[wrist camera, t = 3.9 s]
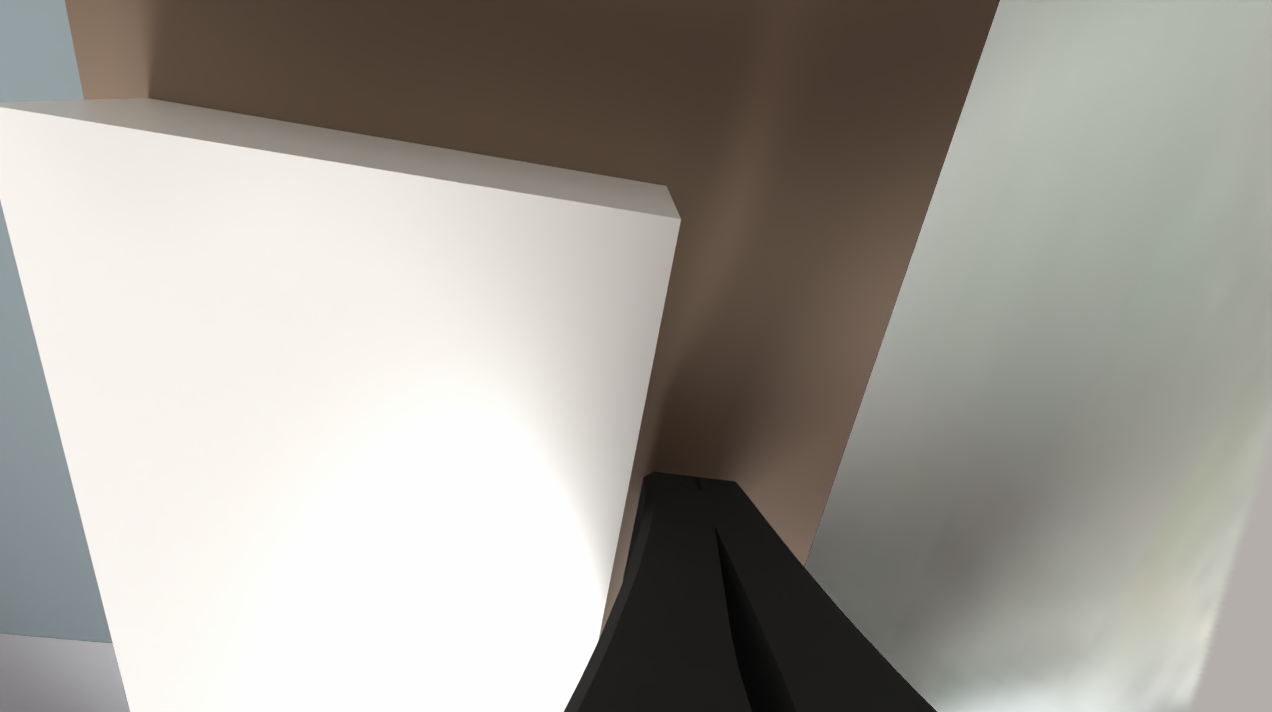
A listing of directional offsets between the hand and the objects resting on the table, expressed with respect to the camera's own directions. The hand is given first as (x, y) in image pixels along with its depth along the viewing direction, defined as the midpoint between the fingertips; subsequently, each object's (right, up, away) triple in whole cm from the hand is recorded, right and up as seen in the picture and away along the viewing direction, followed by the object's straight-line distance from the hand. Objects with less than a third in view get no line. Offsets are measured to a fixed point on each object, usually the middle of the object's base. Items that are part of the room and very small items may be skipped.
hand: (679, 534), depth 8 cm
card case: (-4, +1, +1) cm, 4 cm away
